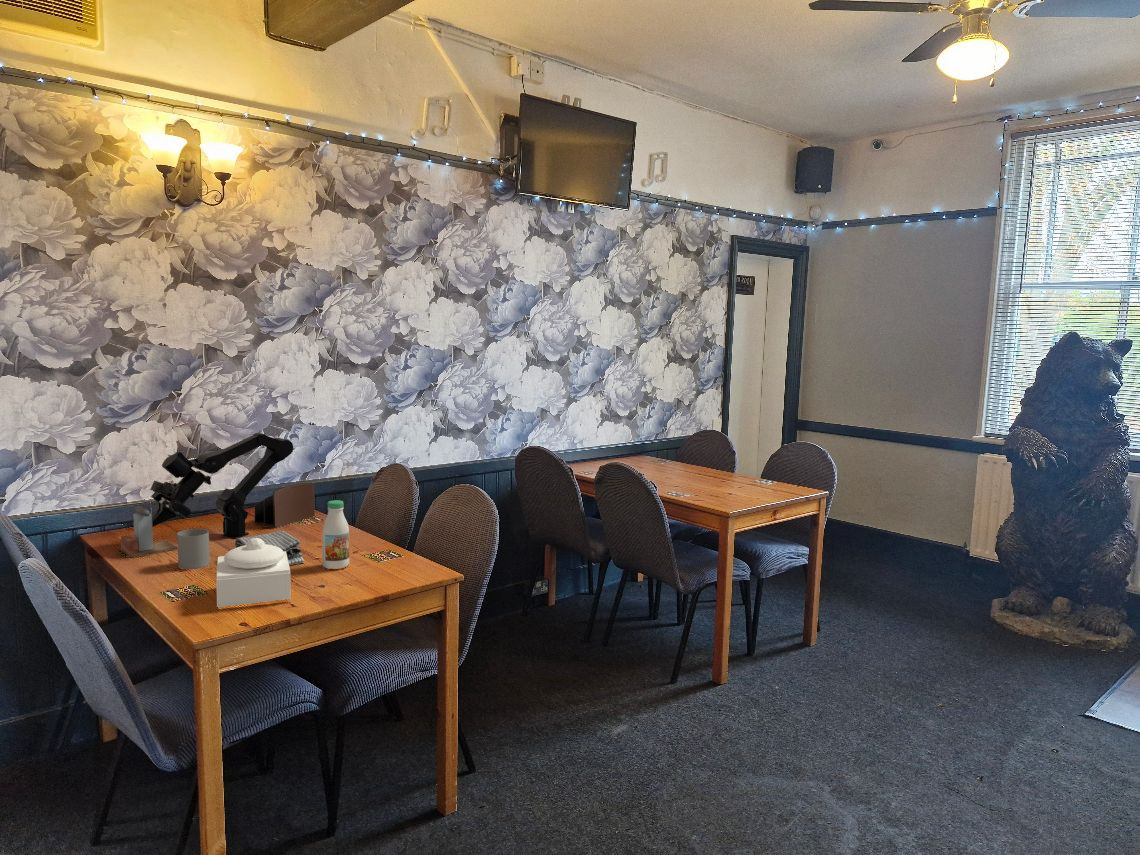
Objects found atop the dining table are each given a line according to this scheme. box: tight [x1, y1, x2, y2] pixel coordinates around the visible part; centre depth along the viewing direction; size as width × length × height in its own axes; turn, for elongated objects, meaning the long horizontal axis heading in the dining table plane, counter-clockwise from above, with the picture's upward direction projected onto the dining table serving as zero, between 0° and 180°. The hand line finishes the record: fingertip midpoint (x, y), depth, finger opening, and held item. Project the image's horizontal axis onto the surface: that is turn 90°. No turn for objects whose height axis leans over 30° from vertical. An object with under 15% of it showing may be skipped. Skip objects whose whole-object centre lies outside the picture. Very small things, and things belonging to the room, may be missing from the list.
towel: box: [234, 530, 305, 565], centre depth 235 cm, size 15×18×8 cm
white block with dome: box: [215, 538, 292, 608], centre depth 206 cm, size 18×18×16 cm
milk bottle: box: [321, 499, 350, 568], centre depth 231 cm, size 8×8×20 cm
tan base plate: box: [120, 534, 178, 558], centre depth 241 cm, size 14×9×5 cm, turn 137°
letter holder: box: [253, 482, 316, 529], centre depth 281 cm, size 10×20×14 cm, turn 156°
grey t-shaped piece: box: [132, 505, 154, 551], centre depth 240 cm, size 4×8×13 cm, turn 47°
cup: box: [176, 528, 211, 570], centre depth 228 cm, size 8×8×10 cm
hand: (151, 525), depth 241 cm, fingers closed, pressing on grey t-shaped piece
